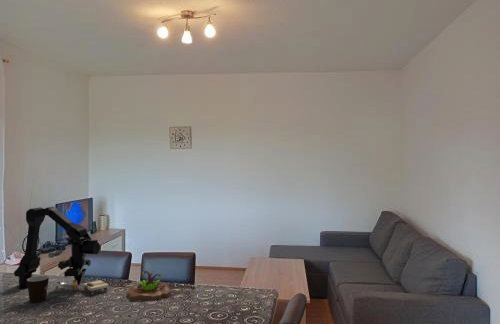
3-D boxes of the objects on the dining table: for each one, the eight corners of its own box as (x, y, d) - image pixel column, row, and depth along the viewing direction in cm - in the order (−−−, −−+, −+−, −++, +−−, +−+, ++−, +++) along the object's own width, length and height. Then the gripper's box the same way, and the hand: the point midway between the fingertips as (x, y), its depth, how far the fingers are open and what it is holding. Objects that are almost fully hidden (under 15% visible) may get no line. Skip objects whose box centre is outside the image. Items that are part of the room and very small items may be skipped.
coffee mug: (38, 305, 159) (38, 282, 159) (21, 303, 160) (22, 280, 161) (57, 295, 170) (58, 274, 170) (41, 294, 172) (42, 273, 172)
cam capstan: (49, 291, 174) (49, 280, 174) (59, 287, 180) (59, 276, 180) (72, 293, 172) (72, 282, 172) (81, 289, 177) (81, 278, 177)
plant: (127, 289, 180) (127, 266, 180) (168, 285, 185) (168, 263, 186) (126, 304, 161) (126, 278, 161) (171, 299, 166) (171, 274, 166)
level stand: (69, 290, 177) (69, 280, 177) (95, 284, 186) (95, 275, 186) (80, 298, 166) (80, 287, 166) (108, 291, 175) (108, 281, 175)
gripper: (68, 248, 186) (68, 279, 186) (52, 259, 167) (52, 292, 168) (91, 248, 187) (91, 278, 187) (77, 258, 168) (77, 292, 169)
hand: (78, 285), depth 178 cm, fingers closed
